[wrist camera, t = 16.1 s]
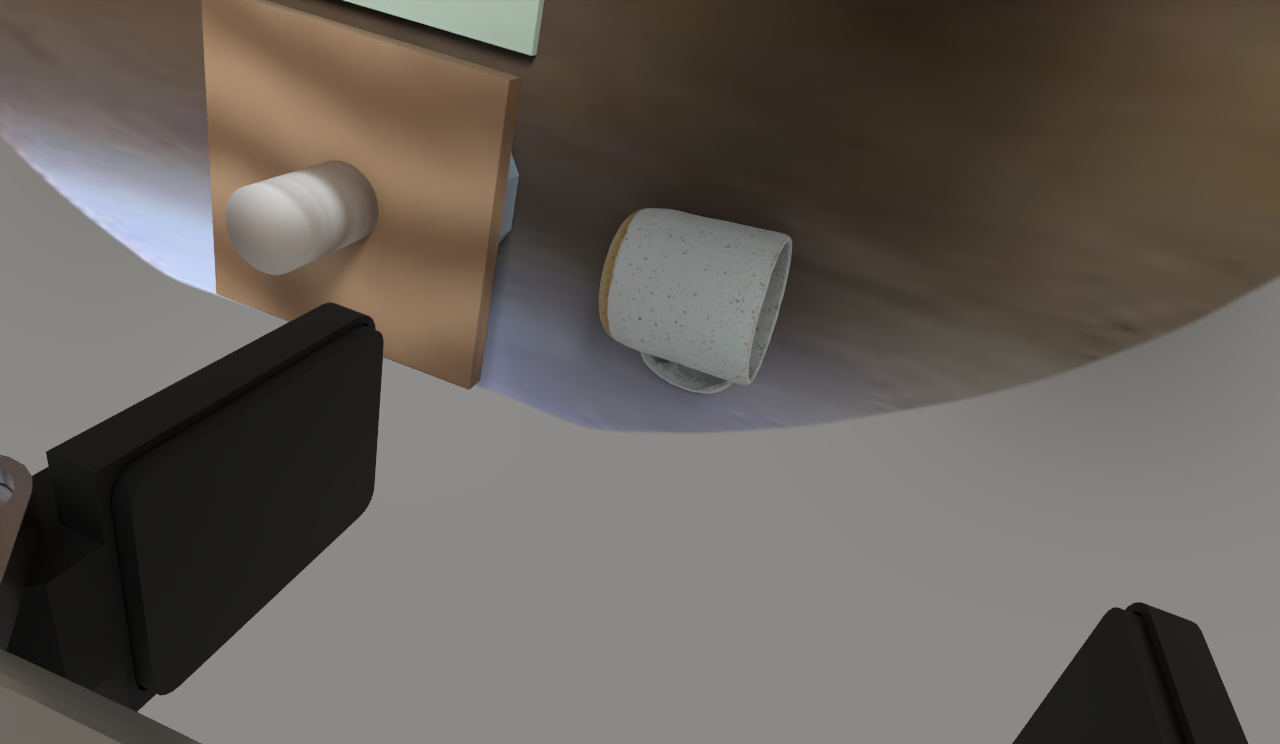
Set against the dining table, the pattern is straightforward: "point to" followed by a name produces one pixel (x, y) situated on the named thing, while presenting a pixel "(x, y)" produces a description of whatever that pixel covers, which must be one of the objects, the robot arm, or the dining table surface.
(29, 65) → the dining table surface
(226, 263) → the walnut lid
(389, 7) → the green mat
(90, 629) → the robot arm
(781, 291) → the ceramic mug
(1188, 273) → the dining table surface
